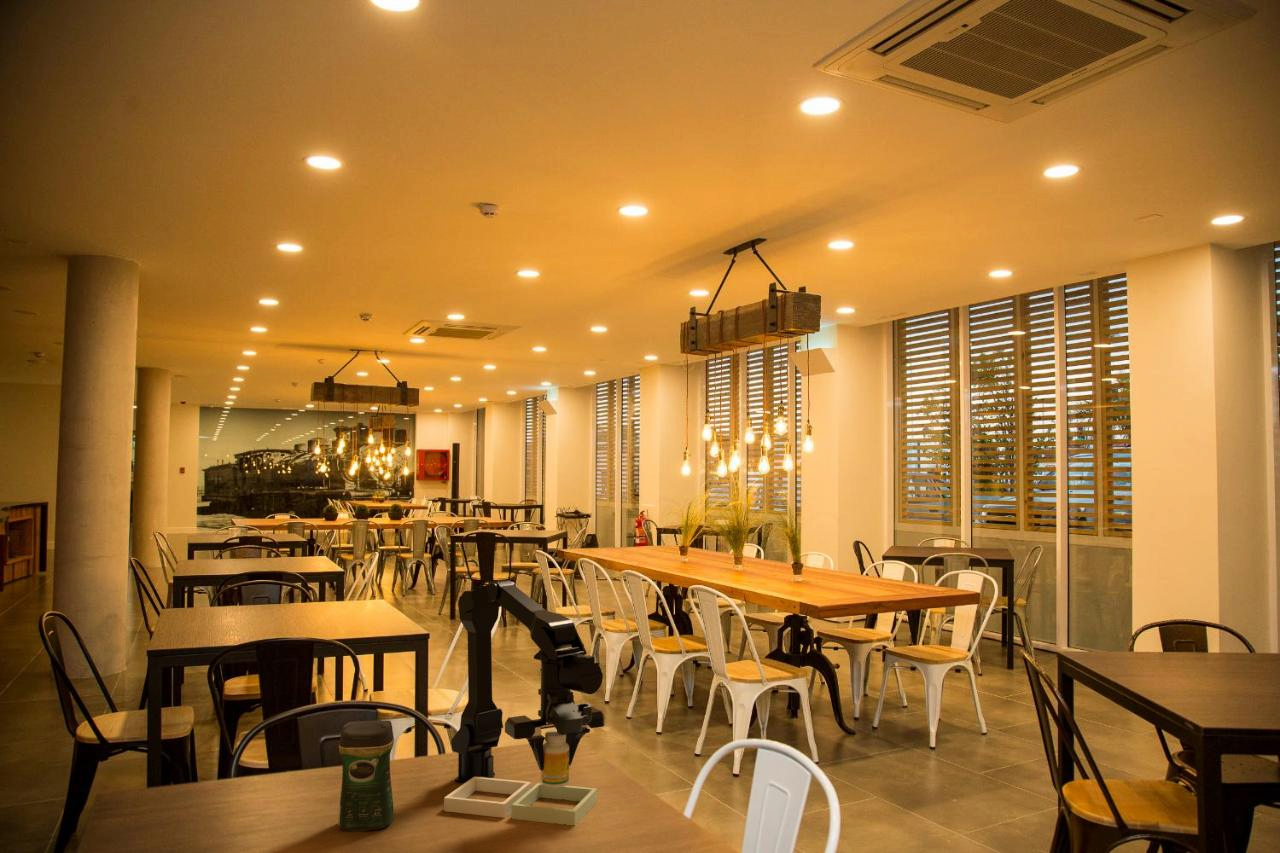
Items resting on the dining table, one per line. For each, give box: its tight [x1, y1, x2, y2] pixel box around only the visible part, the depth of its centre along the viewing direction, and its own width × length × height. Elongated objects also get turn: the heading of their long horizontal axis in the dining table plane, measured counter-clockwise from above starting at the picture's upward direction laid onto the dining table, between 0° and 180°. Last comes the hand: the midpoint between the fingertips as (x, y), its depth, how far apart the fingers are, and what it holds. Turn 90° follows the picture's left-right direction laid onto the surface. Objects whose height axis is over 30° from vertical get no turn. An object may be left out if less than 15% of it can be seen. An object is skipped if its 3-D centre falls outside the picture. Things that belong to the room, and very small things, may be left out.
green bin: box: [511, 782, 598, 826], centre depth 171 cm, size 13×13×2 cm
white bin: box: [443, 777, 532, 819], centre depth 175 cm, size 13×13×2 cm
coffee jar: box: [337, 720, 395, 832], centre depth 164 cm, size 10×8×19 cm
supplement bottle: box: [540, 729, 570, 788], centre depth 171 cm, size 5×5×10 cm
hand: (555, 767), depth 171 cm, fingers closed on supplement bottle, 5 cm apart
